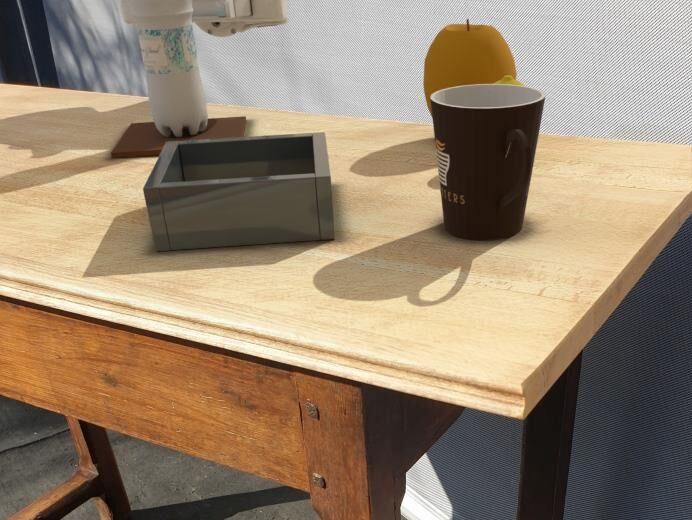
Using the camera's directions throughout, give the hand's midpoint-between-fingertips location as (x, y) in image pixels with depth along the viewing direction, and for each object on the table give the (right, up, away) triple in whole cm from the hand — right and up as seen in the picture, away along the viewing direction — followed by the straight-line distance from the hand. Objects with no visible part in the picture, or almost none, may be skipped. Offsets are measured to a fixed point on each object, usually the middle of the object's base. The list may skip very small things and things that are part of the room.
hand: (183, 11), depth 94 cm
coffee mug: (+31, -33, -27) cm, 53 cm away
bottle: (-1, -13, +2) cm, 13 cm away
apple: (+32, -16, -2) cm, 36 cm away
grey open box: (+11, -30, -22) cm, 38 cm away
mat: (-1, -13, +2) cm, 14 cm away
